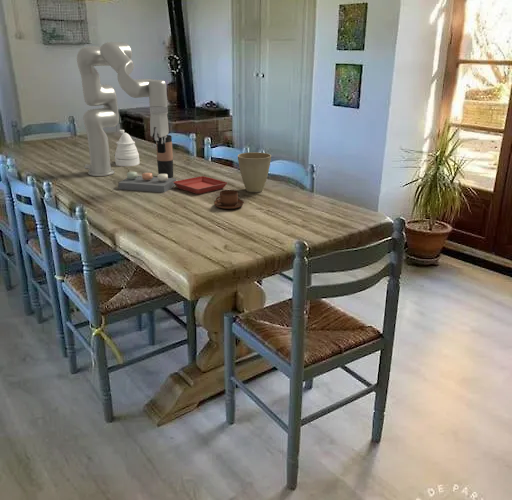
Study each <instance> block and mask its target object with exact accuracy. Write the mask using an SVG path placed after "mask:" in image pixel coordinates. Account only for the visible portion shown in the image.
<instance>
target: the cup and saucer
mask: <svg viewBox="0 0 512 500" xmlns="http://www.w3.org/2000/svg"><path fill="white" fill-rule="evenodd" d="M213 204H214V206H215V207H216V208H220V209H222V210H223V209H225V210H233V209H234V210H235V209H238V208H241V207H243V205H244V201H243V200H242V199H239V191H237V190H234V189H225V190H224V189H223V190H220V191H219V195H218V196H217V197H216V198H215V200H214V202H213Z"/></svg>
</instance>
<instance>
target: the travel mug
mask: <svg viewBox="0 0 512 500" xmlns="http://www.w3.org/2000/svg"><path fill="white" fill-rule="evenodd" d="M172 139H173V137H172V135H170V134H168V135H167V137H166V138H165V148H166V152H165V153H158V150H157V142H156V141H155V146H156V147H155V148H156V163H157V171H158V172H157V173H158V174H168V178H174V154H173V140H172ZM158 174H157V175H158Z"/></svg>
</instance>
